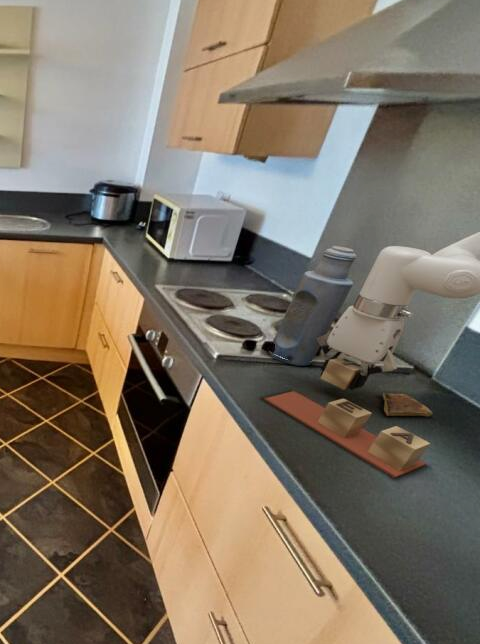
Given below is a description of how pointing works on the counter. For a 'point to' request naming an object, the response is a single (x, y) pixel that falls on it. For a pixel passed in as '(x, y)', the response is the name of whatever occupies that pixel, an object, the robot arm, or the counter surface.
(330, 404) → the letter E
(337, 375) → the letter T
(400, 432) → the letter A
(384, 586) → the counter surface
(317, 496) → the counter surface
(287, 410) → the word mat
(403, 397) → the shard
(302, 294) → the bottle
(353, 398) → the counter surface
